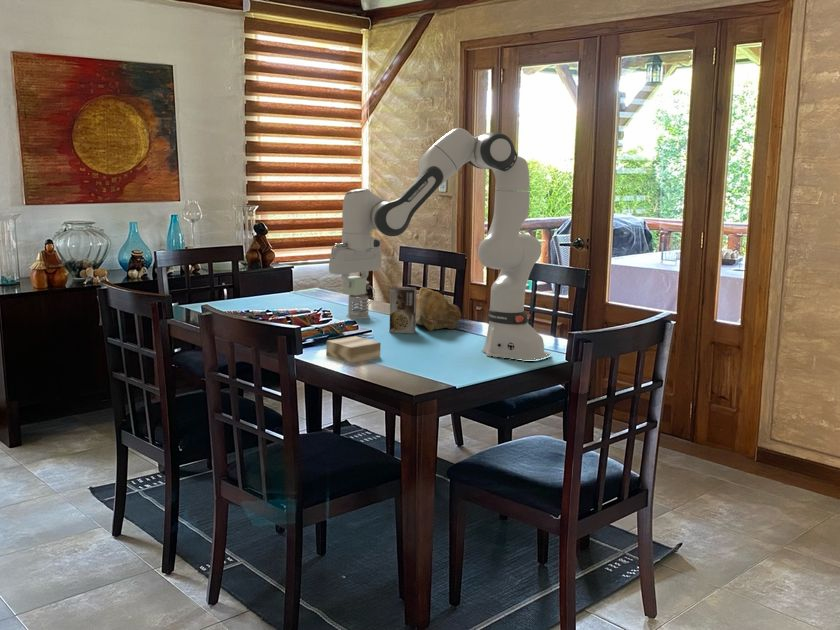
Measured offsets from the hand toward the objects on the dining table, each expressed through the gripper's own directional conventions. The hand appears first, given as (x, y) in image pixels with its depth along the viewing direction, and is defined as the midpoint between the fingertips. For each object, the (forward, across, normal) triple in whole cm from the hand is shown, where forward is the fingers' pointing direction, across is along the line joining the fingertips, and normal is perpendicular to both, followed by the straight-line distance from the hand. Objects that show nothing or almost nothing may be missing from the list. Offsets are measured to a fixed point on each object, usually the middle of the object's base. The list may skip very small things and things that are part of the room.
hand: (354, 286), depth 255 cm
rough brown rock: (+23, +57, +10) cm, 62 cm away
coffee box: (+22, +41, +14) cm, 49 cm away
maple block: (+22, 0, 0) cm, 23 cm away
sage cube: (+2, 0, 0) cm, 2 cm away
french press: (+23, +51, +44) cm, 71 cm away
